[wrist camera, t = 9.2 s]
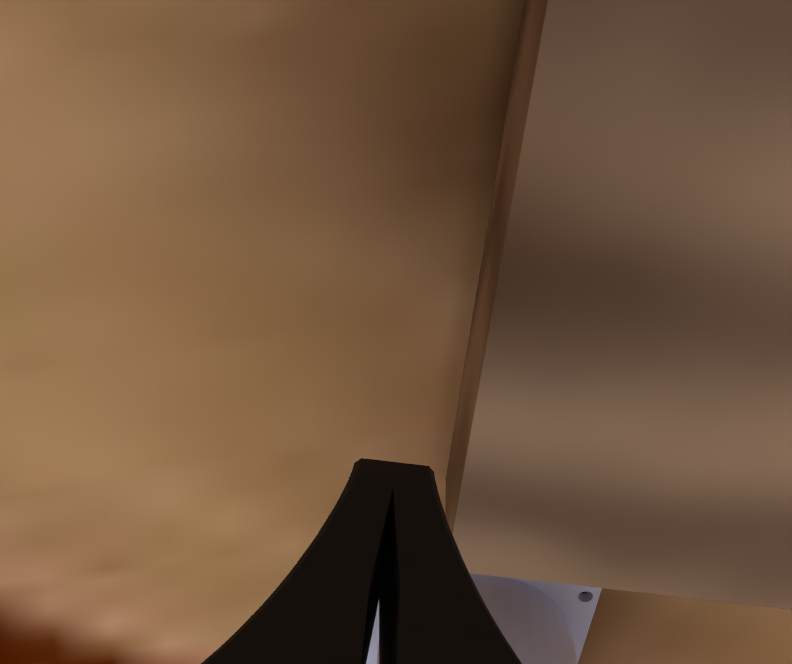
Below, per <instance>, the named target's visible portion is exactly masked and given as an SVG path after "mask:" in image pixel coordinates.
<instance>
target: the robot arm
mask: <svg viewBox="0 0 792 664" xmlns="http://www.w3.org/2000/svg"><path fill="white" fill-rule="evenodd" d="M601 590H602V588H596V587H587V586H578V585H569V584H560V583H551V582H543V581H534V580H525V579H516V578H507V577H498V576H489V575H481V574H472V573H469V572H468V569H467V567H466V565H465V563H464V561H463V559H462V556H461V554H460V551H459V549H458V547H457V544H456V542H455V540H454V537H453V535H452V532H451V530H450V527H449V524H448V522H447V519H446V516H445V513H444V510H443V507H442V504H441V501H440V497H439V494H438V490H437V486H436V482H435V477H434V472H433V470H432V469H431V468H430V467H429V466H423V465H415V464H406V463H397V462H389V461H380V460H371V459H362V458H361V459H360V460H358V461H357V462H355V463H354V467H353V470H352V473H351V475H350V477H349V480H348V482H347V484H346V486H345V488H344V490H343V492H342V494H341V496H340V498H339V500H338V502H337V503H336V505H335V507H334V509H333V510H332V512H331V514H330V515H329V517H328V518H327V520H326V522H325V523H324V525H323V526H322V528H321V530H320V531H319V533H318V534H317V536H316V537H315V539H314V540H313V542H312V543H311V544H310V546H309V547H308V549H307V550H306V551H305V553H304V554H303V555H302V557H301V558H300V559H299V561H298V562H297V564H296V565H295V566H294V568H293V569H292V570H291V572H290V573H289V574H288V575H287V577H286V578H285V579H284V580H283V581H282V583H281V584H280V585H279V586H278V587H277V589H276V590H275V591H274V592H273V593H272V594H271V596H270V597H269V598H268V599H267V600H266V601H265V602H264V603H263V605H262V606H261V607H260V608H259V609H258V610H257V611H256V612H255V613H254V614H253V615H252V616H251V617H250V618H249V619H248V620H247V621H246V622H245V623H244V624H243V625H242V626H241V627H240V628H239V630H238V631H237V632H236V633H235V634H234V635H232V636H231V637H230V638H229V639H228V640H227V641H226V642H225V643H224V644H223V645H222V646H221V647H220V648H219V649H218V650H216V651H215V652H214V653H213V654H212V655H211V656H209V657H208V658H207V659H206V660H205V661H204V662H202V663H201V664H578V662H579V658H580V655H581V652H582V649H583V646H584V643H585V640H586V637H587V634H588V631H589V627H590V624H591V621H592V618H593V615H594V612H595V609H596V606H597V603H598V599H599V596H600V593H601ZM586 591H587V593H582V592H586Z"/></svg>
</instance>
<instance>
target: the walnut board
mask: <svg viewBox="0 0 792 664" xmlns="http://www.w3.org/2000/svg"><path fill="white" fill-rule="evenodd" d="M446 519H447V522H448V524H449V527H450V530H451V532H452V535H453V537H454V540H455V542H456V544H457V547H458V549H459V551H460V554H461V556H462V559H463V561H464V563H465V565H466V567H467V569H468V572H469V573H472V574H481V575H489V576H498V577H507V578H516V579H525V580H534V581H543V582H551V583H560V584H569V585H578V586H587V587H596V588H604V589H613V590H622V591H631V592H640V593H649V594H658V595H666V596H675V597H684V598H693V599H702V600H711V601H719V602H728V603H737V604H746V605H755V606H764V607H773V608H781V609H790V610H792V0H525V3H524V9H523V15H522V21H521V27H520V33H519V39H518V46H517V52H516V58H515V64H514V70H513V76H512V82H511V88H510V94H509V100H508V106H507V112H506V118H505V124H504V130H503V137H502V143H501V149H500V155H499V161H498V167H497V173H496V179H495V185H494V191H493V197H492V203H491V209H490V215H489V221H488V228H487V234H486V240H485V246H484V252H483V258H482V264H481V270H480V276H479V282H478V288H477V294H476V300H475V306H474V312H473V318H472V325H471V331H470V337H469V343H468V349H467V355H466V361H465V367H464V373H463V379H462V385H461V391H460V397H459V403H458V409H457V416H456V422H455V428H454V434H453V440H452V446H451V452H450V458H449V464H448V470H447V476H446Z"/></svg>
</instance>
